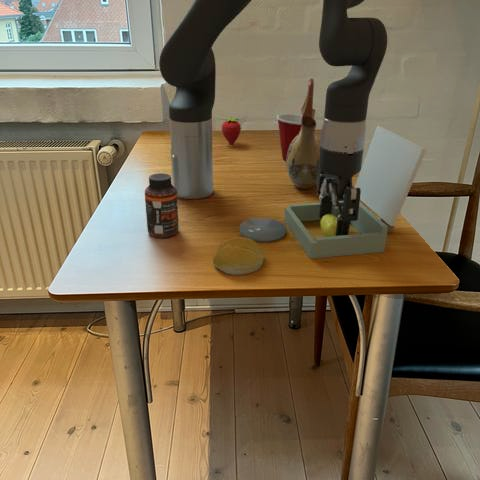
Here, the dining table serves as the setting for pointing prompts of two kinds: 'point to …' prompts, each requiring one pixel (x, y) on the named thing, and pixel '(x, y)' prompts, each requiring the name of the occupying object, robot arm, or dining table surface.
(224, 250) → the bread roll
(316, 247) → the frame
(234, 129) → the strawberry
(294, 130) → the plastic cup
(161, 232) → the supplement bottle
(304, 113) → the ceramic vessel
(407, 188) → the lid
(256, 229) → the saucer
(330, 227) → the yellow oblong lump
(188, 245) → the dining table surface
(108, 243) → the dining table surface
